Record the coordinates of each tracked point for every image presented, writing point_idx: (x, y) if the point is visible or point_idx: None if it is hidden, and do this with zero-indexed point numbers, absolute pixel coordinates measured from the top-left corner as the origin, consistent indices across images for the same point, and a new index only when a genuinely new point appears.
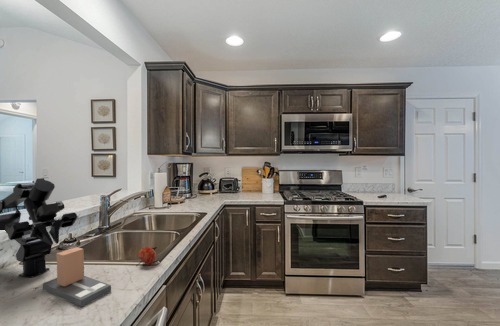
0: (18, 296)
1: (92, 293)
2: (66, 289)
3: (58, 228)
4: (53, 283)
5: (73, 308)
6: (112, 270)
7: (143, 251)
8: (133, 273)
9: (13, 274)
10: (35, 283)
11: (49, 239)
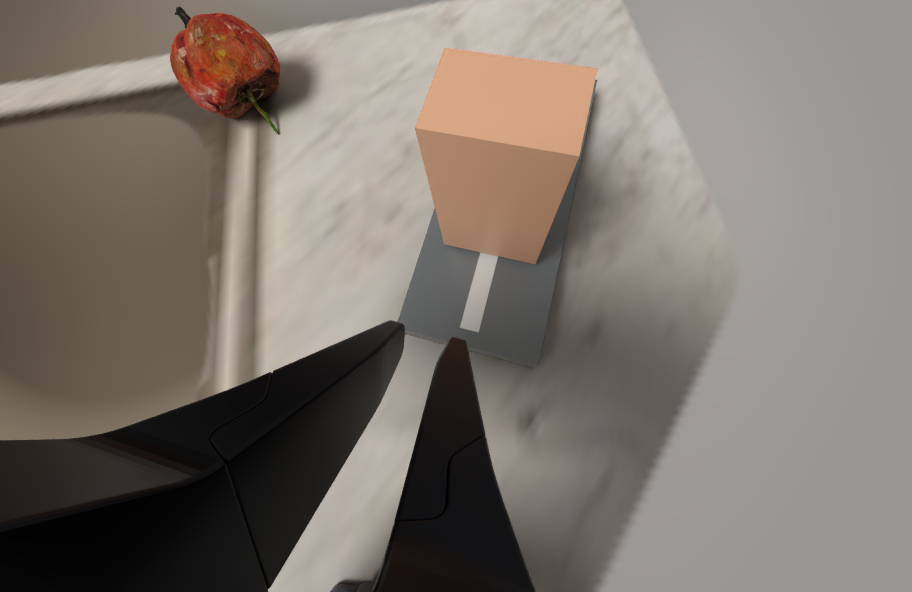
0: (612, 426)
1: None
2: None
3: (162, 425)
4: (524, 305)
5: (602, 118)
6: (322, 202)
7: (235, 31)
8: (344, 103)
9: None
10: None
11: (465, 372)
